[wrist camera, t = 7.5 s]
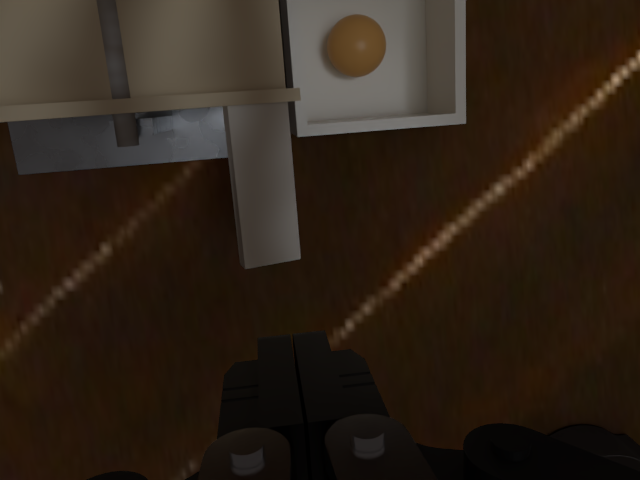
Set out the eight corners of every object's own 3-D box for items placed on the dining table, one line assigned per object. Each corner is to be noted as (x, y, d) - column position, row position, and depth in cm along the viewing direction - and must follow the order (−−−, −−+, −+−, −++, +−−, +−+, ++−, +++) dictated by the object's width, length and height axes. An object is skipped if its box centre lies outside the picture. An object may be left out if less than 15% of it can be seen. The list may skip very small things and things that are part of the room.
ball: (388, 7, 30) (325, 12, 30) (391, 73, 31) (329, 77, 31) (381, 16, 33) (324, 21, 33) (383, 76, 34) (328, 80, 34)
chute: (259, -42, 28) (287, -68, 24) (284, 242, 32) (313, 259, 28) (-112, -53, 22) (-154, -90, 18) (-27, 295, 26) (-47, 327, 22)
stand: (263, -51, 32) (267, -100, 25) (281, 152, 35) (289, 164, 28) (-21, -39, 30) (-109, -87, 23) (24, 173, 33) (-42, 192, 26)
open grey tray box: (431, -37, 33) (465, -64, 28) (434, 121, 36) (465, 123, 30) (276, -30, 32) (281, -57, 27) (290, 132, 35) (297, 136, 30)
